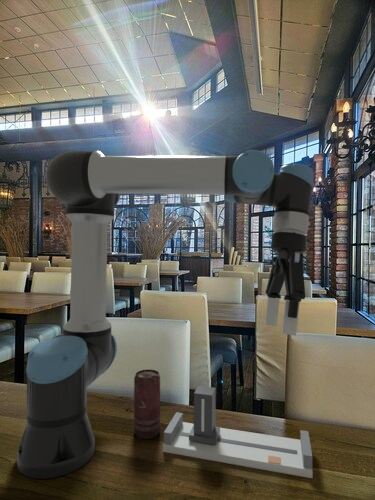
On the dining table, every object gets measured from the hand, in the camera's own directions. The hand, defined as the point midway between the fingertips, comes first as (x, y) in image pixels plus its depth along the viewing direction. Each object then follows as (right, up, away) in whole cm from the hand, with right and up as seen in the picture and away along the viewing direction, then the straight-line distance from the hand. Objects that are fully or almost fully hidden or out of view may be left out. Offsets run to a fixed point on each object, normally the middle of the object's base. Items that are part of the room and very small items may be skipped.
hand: (278, 329), depth 72 cm
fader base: (-9, -26, -1) cm, 27 cm away
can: (-29, -26, +6) cm, 40 cm away
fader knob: (-16, -24, +1) cm, 29 cm away
